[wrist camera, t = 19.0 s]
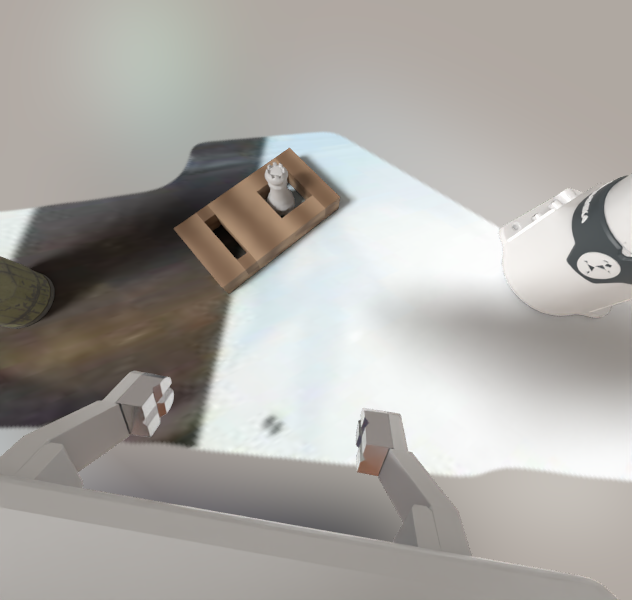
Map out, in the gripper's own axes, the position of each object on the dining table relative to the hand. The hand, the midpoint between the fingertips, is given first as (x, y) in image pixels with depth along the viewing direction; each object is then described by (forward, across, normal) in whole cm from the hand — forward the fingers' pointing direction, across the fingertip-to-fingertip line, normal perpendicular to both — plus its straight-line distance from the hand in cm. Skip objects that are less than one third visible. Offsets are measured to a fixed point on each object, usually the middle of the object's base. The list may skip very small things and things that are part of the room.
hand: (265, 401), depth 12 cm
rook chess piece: (+39, +7, 0) cm, 39 cm away
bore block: (+36, +10, +3) cm, 37 cm away
